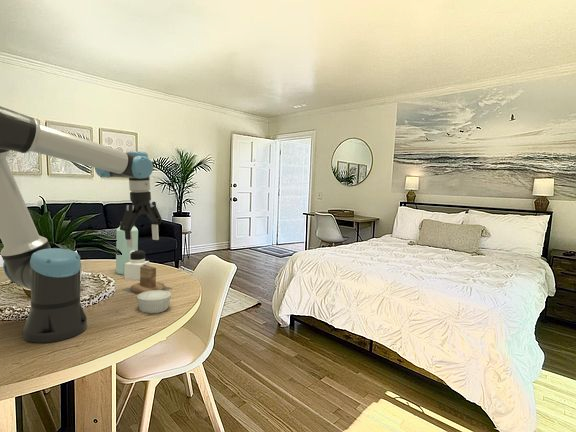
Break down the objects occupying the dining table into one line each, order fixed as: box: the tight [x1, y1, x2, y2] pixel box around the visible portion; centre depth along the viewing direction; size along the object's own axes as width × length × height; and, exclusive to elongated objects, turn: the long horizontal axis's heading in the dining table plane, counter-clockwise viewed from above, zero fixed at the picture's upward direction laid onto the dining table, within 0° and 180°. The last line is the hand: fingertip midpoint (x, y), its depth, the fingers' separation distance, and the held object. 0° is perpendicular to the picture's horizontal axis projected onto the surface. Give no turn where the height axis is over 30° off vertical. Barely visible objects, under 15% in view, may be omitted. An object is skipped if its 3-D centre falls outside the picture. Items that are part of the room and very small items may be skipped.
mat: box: [121, 285, 173, 296], centre depth 135 cm, size 14×14×1 cm
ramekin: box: [136, 290, 172, 315], centre depth 116 cm, size 11×11×5 cm
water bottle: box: [115, 221, 139, 276], centre depth 158 cm, size 10×10×25 cm
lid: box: [129, 265, 165, 294], centre depth 135 cm, size 13×13×9 cm
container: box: [124, 249, 150, 281], centre depth 151 cm, size 8×8×13 cm
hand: (143, 243), depth 132 cm, fingers open, 13 cm apart
